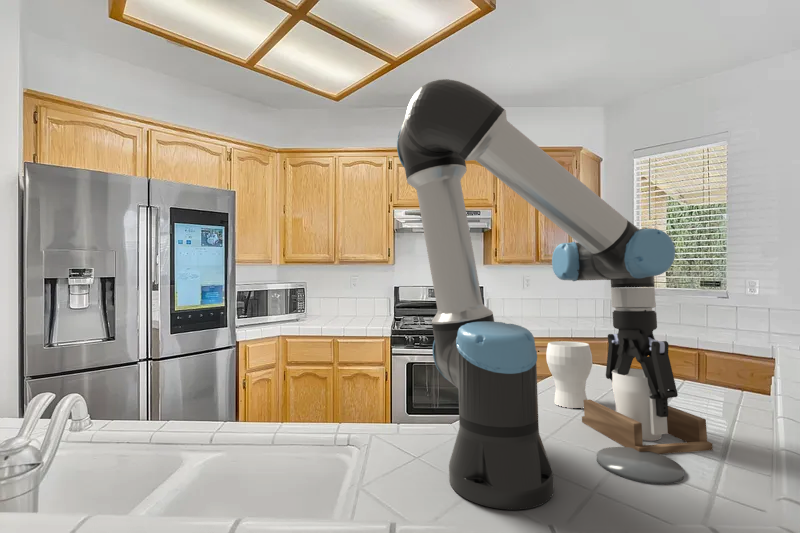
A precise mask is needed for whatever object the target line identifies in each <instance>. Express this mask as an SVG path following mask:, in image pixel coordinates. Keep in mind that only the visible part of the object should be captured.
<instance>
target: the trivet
mask: <svg viewBox="0 0 800 533" xmlns="http://www.w3.org/2000/svg"><path fill="white" fill-rule="evenodd" d="M596 461H597V463H598V465H599V466H600V467H601V468H603V469H604V470H605V471H607V472H610V473H611V474H613V475H615V476H618V477H621V478H624V479H627V480H630V481H633V482H634V481H635V482H638V483H644V484H651V485H671V484H676V483H678V482H681V481H682V480H683V479H684V478H685V470H684V468H683V466H682V465H680V464H679V462H677V461H675V460H673V459H672V458H669V457H667V456H665V455H664V454H657V453H654V452H651V451H643V452H639V451H637V450H635V449H634V448H629V447H624V446H610V447H605V448H602V449H600V450H597V452H596Z"/></svg>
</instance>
